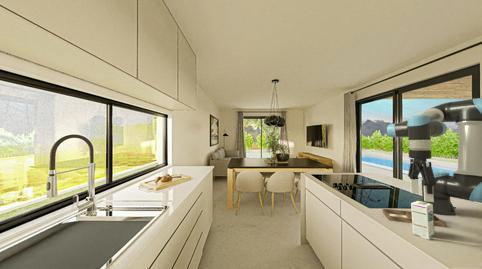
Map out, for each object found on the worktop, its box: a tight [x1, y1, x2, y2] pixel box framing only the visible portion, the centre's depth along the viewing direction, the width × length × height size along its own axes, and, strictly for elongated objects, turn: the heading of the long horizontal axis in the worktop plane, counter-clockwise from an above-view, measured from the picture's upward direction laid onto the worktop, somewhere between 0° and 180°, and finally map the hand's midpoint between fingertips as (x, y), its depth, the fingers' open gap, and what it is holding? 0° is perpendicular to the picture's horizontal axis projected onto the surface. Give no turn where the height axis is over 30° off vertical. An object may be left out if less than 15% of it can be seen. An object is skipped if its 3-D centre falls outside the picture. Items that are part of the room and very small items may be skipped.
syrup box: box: [410, 200, 436, 241], centre depth 86 cm, size 6×6×14 cm
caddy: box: [381, 208, 446, 228], centre depth 102 cm, size 22×12×3 cm, turn 67°
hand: (421, 197), depth 86 cm, fingers open, 13 cm apart
